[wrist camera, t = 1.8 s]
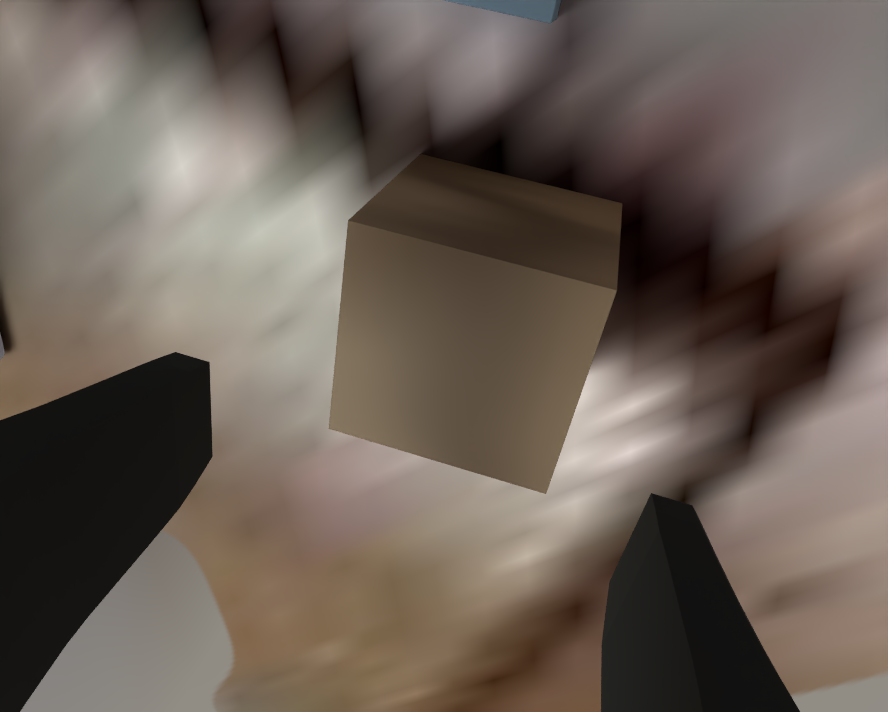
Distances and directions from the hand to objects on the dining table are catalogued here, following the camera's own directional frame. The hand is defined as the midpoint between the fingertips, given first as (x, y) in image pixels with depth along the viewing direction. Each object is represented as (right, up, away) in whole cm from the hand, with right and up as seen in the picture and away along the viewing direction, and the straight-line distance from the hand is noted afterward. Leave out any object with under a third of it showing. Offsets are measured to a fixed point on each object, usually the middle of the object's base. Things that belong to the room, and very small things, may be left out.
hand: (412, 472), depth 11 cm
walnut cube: (+2, +4, +7) cm, 8 cm away
